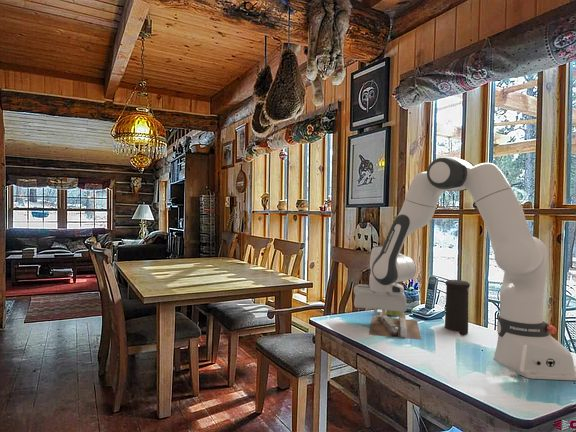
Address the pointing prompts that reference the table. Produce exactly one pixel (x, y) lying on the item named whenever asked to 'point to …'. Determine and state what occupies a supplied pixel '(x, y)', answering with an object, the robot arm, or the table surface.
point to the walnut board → (411, 325)
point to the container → (457, 306)
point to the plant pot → (393, 313)
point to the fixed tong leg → (402, 326)
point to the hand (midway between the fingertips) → (379, 320)
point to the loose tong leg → (390, 325)
